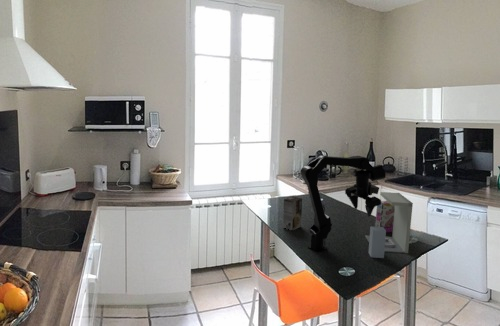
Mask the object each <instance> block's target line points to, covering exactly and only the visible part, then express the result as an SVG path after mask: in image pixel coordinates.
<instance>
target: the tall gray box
mask: <svg viewBox="0 0 500 326" xmlns="http://www.w3.org/2000/svg"><path fill="white" fill-rule="evenodd" d="M369 236H370V239H369V242H368V243H369V244H368V254H369V255H368V256H370V258H375V259H376V258H377V259H379V258H380V259H385V252H384V250H385V238H386V237H387V233H386V230H385V229H384V228H383V227H375V226H374V225H373V226H370V229H369Z"/></svg>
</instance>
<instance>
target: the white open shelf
mask: <svg viewBox="0 0 500 326" xmlns="http://www.w3.org/2000/svg"><path fill="white" fill-rule="evenodd" d="M380 196H381V197H382V198H383V199H384V201H387V202H389V203H390V204H391V205H393V206H395V211H394V222H393V232H392V236H386V238H385V250H384V253H400V254H409V247H410V236H411V228H412V227H411V226H412V225H411V224H412V217H413V216H412V215H413V214H412V213H413V204H414V203H413V202H412V201H411V200H409V199H408V198H406V197H405V196H404V195H403V194H401V193H400V192H391V191H389V192H388V191H387V192H386V191H381V192H380ZM364 237H365V239H366V240H367V242H368V243H369V239H370V235H366V234H365V235H364Z"/></svg>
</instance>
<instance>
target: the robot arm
mask: <svg viewBox="0 0 500 326" xmlns="http://www.w3.org/2000/svg"><path fill="white" fill-rule="evenodd" d="M326 166H337V167H350V168H354V170H353V171H351V175H352V176H354V177H355V184H354V185H353V186H349V187H347V188H346V189H345V190H344V192H345V193H344V194H345V195H346V196H347V198H348V199H349V201H350V202H351V204H352V206H353V207H354V209H355V210H357V209H358V207H359V206H358V205H359V199H363V200H365V202H364V203H365V206H364V208H365V210H366V214H367V217H371V216H372V214H373V211H374V209H375V208H377V206H378V205H381V201H382V199H381V198H378V197H377V196H374V195H378V194H379V190H380V187H378V186H377V185H375V184H372V182H376V181H380V180H384V179H385V178H386V176H387V174H386V173H387V172H385V168H383V165H382V164H377V165H372V164H371V163H370V160H369V158H368V157H366V156H365V157H364V156H361V155H353V156H349V157H344V156H342V157H341V156H330V155H329V156H328V155H327V156H325V155H319V156H318V157H317V158H315V159H314V160H311V162H309V163H308V164H307V165H304V166H303V167H302V168H301V169H300V175H301V178H302V180H303V182H304V184H305V185H306V187H307V190H308V195H309V198H310V201H311V206H312V209H313V213H314V217H313V225H311V226H310V227H309V228H308V230H309V233H310V234H311V236H310V245H309V246H307V248H309V249H310V250H312V251H315V252H318V253H319V252H323V251H325V250H327V249H328V247H326V239H327V238H328V235H329V234H330V232H331V231H332V227H333V223H331V222H332V219H331V217H330V216H329V215H328V214H326V213H325V210H324V206H323V201H322V198H321V195H320V191H319V186H318V184H319V182H318V181H319V175H320V174H321V173H322V171H324V168H325V167H326ZM357 169H358V170H357ZM370 181H372V182H370ZM372 195H373V196H372Z"/></svg>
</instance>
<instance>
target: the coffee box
mask: <svg viewBox="0 0 500 326" xmlns="http://www.w3.org/2000/svg"><path fill="white" fill-rule="evenodd" d="M302 206H303V198H301V197H297V196H290V197H287V198H285V199H283V214H282V215H283V218H282V228H283V229H284V228H286V229H285V230H288V229H289V231H291V230H293V231H295V230H297V229H298V228H301V227H302V213H303V207H302Z"/></svg>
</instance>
